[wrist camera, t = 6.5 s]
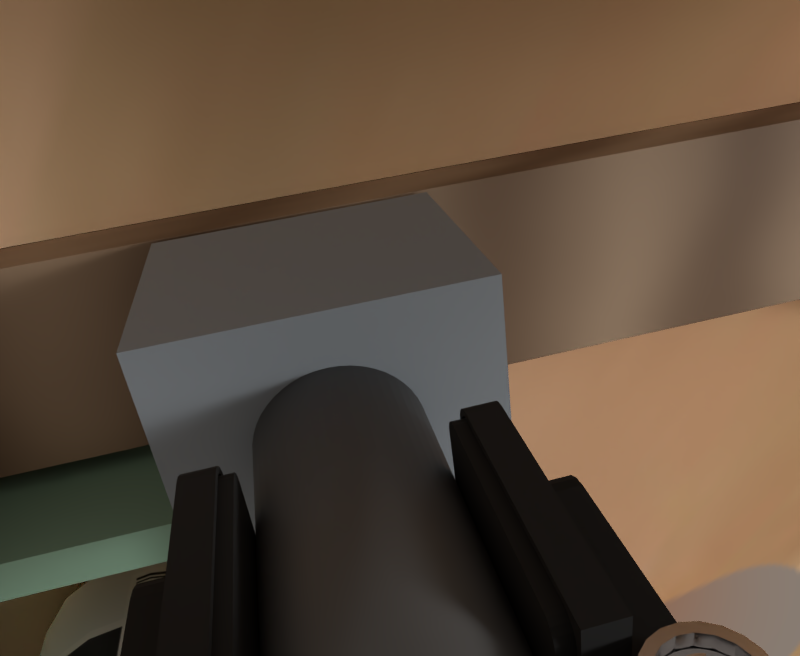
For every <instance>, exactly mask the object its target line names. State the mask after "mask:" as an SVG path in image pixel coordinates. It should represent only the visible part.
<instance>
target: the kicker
mask: <svg viewBox="0 0 800 656" xmlns="http://www.w3.org/2000/svg"><path fill="white" fill-rule="evenodd" d="M116 354H117V357H118V360H119V363H120V365H121V368H122V371H123V374H124V376H125V379H126V382H127V385H128V388H129V390H130V393H131V396H132V399H133V401H134V404H135V407H136V410H137V412H138V415H139V418H140V421H141V423H142V426H143V429H144V432H145V434H146V437H147V440H148V443H149V446H150V448H151V451H152V454H153V457H154V459H155V462H156V465H157V468H158V470H159V473H160V476H161V479H162V481H163V484H164V487H165V490H166V492H167V495H168V498H169V501H170V503H171V506H172V509H173V507H174V499H175V491H176V482H177V478H178V476H179V475H180V474H184V473H188V472H193V471H197V470H201V469H206V468H210V467H214V466H219V467H220V469H221V470H222V473H223V475H225V474H229V473H234V472H235V473H236V474H237V476H238V479H239V482H240V485H241V488H242V492H243V495H244V498H245V501H246V505H247V508H248V511H249V515H250V518H251V521H252V524H253V528H254V531H255V534H256V559H257V586H258V613H259V639H260V656H533V654H532V652H531V649H530V647H529V645H528V643H527V640H526V638H525V636H524V634H523V631H522V629H521V627H520V625H519V622H518V620H517V618H516V616H515V613H514V611H513V609H512V607H511V604H510V602H509V600H508V598H507V595H506V593H505V591H504V589H503V586H502V584H501V582H500V580H499V577H498V575H497V573H496V571H495V568H494V566H493V564H492V561H491V559H490V557H489V555H488V552H487V550H486V548H485V546H484V543H483V541H482V539H481V537H480V534H479V532H478V530H477V528H476V525H475V523H474V521H473V519H472V516H471V514H470V512H469V510H468V507H467V505H466V503H465V501H464V498H463V496H462V494H461V492H460V489H459V487H458V485H457V483H456V480H455V473H454V465H453V457H452V449H451V440H450V432H449V422H450V421H455V420H459V419H460V410H461V409H462V408H467V407H471V406H475V405H480V404H484V403H488V402H492V401H498V402H499V403H500V404H501V405H502V407H503V409H504V410H505V412H506V413H507V415H508V417H509V418H510V420H511V410H510V394H509V379H508V364H507V348H506V333H505V317H504V302H503V286H502V274H501V273H500V272H499V271H498V269H497V268H496V267H495V266H494V265H493V264H492V263H491V262H490V261H489V260H488V259H487V257H486V256H485V255H484V254H483V253H482V252H481V251H480V250H479V249H478V248H477V247H476V246H475V244H474V243H473V242H472V241H471V240H470V239H469V238H468V237H467V236H466V235H465V234H464V232H463V231H462V230H461V229H460V228H459V227H458V226H457V225H456V224H455V223H454V222H453V220H452V219H451V218H450V217H449V216H448V215H447V214H446V213H445V212H444V211H443V210H442V209H441V207H440V206H439V205H438V204H437V203H436V202H435V201H434V200H433V199H432V198H431V197H430V195H429V194H428V193H427V192H424V193H419V194H413V195H408V196H403V197H397V198H392V199H387V200H381V201H376V202H371V203H365V204H360V205H355V206H349V207H344V208H339V209H333V210H328V211H323V212H317V213H312V214H307V215H301V216H296V217H291V218H285V219H280V220H275V221H269V222H264V223H259V224H253V225H248V226H243V227H237V228H232V229H227V230H221V231H216V232H211V233H205V234H200V235H195V236H189V237H184V238H179V239H173V240H168V241H163V242H157V243H152V244H151V247H150V250H149V253H148V256H147V259H146V262H145V265H144V268H143V272H142V275H141V278H140V281H139V284H138V287H137V290H136V293H135V296H134V299H133V303H132V306H131V309H130V312H129V315H128V318H127V321H126V324H125V327H124V331H123V334H122V337H121V340H120V343H119V346H118V349H117V352H116Z"/></svg>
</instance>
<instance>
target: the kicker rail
mask: <svg viewBox="0 0 800 656" xmlns="http://www.w3.org/2000/svg"><path fill="white" fill-rule="evenodd" d="M424 192H427V193H428V194H429V195H430V197H431V198H432V199H433V200H434V201H435V202H436V203H437V204H438V205H439V206H440V207H441V209H442V210H443V211H444V212H445V213H446V214H447V215H448V216H449V217H450V218H451V219H452V220H453V222H454V223H455V224H456V225H457V226H458V227H459V228H460V229H461V230H462V231H463V232H464V234H465V235H466V236H467V237H468V238H469V239H470V240H471V241H472V242H473V243H474V244H475V246H476V247H477V248H478V249H479V250H480V251H481V252H482V253H483V254H484V255H485V256H486V257H487V259H488V260H489V261H490V262H491V263H492V264H493V265H494V266H495V267H496V268H497V269H498V271H499V272H500V273H501V274H502V286H503V302H504V317H505V333H506V348H507V364H512V363H517V362H521V361H526V360H530V359H535V358H539V357H544V356H548V355H553V354H557V353H562V352H566V351H571V350H575V349H580V348H584V347H589V346H593V345H598V344H602V343H606V342H611V341H615V340H620V339H624V338H629V337H633V336H638V335H642V334H647V333H651V332H656V331H660V330H665V329H669V328H674V327H678V326H683V325H687V324H692V323H696V322H701V321H705V320H709V319H714V318H718V317H723V316H727V315H732V314H736V313H741V312H745V311H750V310H754V309H759V308H763V307H768V306H772V305H777V304H781V303H786V302H790V301H795V300H799V299H800V102H798V103H793V104H787V105H782V106H777V107H771V108H766V109H760V110H755V111H749V112H744V113H738V114H733V115H727V116H722V117H717V118H711V119H706V120H700V121H695V122H689V123H684V124H678V125H673V126H668V127H662V128H657V129H651V130H646V131H640V132H635V133H629V134H624V135H618V136H613V137H608V138H602V139H597V140H591V141H586V142H580V143H575V144H569V145H564V146H559V147H553V148H548V149H542V150H537V151H531V152H526V153H520V154H515V155H510V156H504V157H499V158H493V159H488V160H482V161H477V162H471V163H466V164H460V165H455V166H450V167H444V168H439V169H433V170H428V171H422V172H417V173H411V174H406V175H401V176H395V177H390V178H384V179H379V180H373V181H368V182H362V183H357V184H351V185H346V186H341V187H335V188H330V189H324V190H319V191H313V192H308V193H302V194H297V195H292V196H286V197H281V198H275V199H270V200H264V201H259V202H253V203H248V204H243V205H237V206H232V207H226V208H221V209H215V210H210V211H204V212H199V213H193V214H188V215H183V216H177V217H172V218H166V219H161V220H155V221H150V222H144V223H139V224H134V225H128V226H123V227H117V228H112V229H106V230H101V231H95V232H90V233H84V234H79V235H74V236H68V237H63V238H57V239H52V240H46V241H41V242H35V243H30V244H25V245H19V246H14V247H8V248H3V249H0V478H2V477H6V476H11V475H15V474H20V473H24V472H29V471H33V470H38V469H42V468H47V467H51V466H56V465H60V464H65V463H69V462H74V461H78V460H83V459H87V458H91V457H96V456H100V455H105V454H109V453H114V452H118V451H123V450H127V449H132V448H136V447H141V446H145V445H149V443H148V440H147V437H146V434H145V432H144V429H143V426H142V423H141V421H140V418H139V415H138V412H137V410H136V407H135V404H134V401H133V399H132V396H131V393H130V390H129V388H128V385H127V382H126V379H125V376H124V374H123V371H122V368H121V365H120V363H119V360H118V357H117V354H116V352H117V349H118V346H119V343H120V340H121V337H122V334H123V331H124V327H125V324H126V321H127V318H128V315H129V312H130V309H131V306H132V303H133V299H134V296H135V293H136V290H137V287H138V284H139V281H140V278H141V275H142V272H143V268H144V265H145V262H146V259H147V256H148V253H149V250H150V247H151V244H152V243H157V242H163V241H168V240H173V239H179V238H184V237H189V236H195V235H200V234H205V233H211V232H216V231H221V230H227V229H232V228H237V227H243V226H248V225H253V224H259V223H264V222H269V221H275V220H280V219H285V218H291V217H296V216H301V215H307V214H312V213H317V212H323V211H328V210H333V209H339V208H344V207H349V206H355V205H360V204H365V203H371V202H376V201H381V200H387V199H392V198H397V197H403V196H408V195H413V194H419V193H424Z"/></svg>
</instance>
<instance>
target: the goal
mask: <svg viewBox="0 0 800 656" xmlns="http://www.w3.org/2000/svg"><path fill="white" fill-rule="evenodd" d="M172 516H173V509H172V506H171V503H170V501H169V498H168V495H167V492H166V490H165V487H164V484H163V481H162V479H161V476H160V473H159V470H158V468H157V465H156V462H155V459H154V457H153V454H152V451H151V448H150V446H149V445H145V446H141V447H136V448H132V449H127V450H123V451H118V452H114V453H109V454H105V455H100V456H96V457H91V458H87V459H83V460H78V461H74V462H69V463H65V464H60V465H56V466H51V467H47V468H42V469H38V470H33V471H29V472H24V473H20V474H15V475H11V476H6V477H2V478H0V602H3V601H7V600H11V599H15V598H19V597H23V596H27V595H32V594H36V593H40V592H44V591H48V590H52V589H56V588H60V587H64V586H68V585H72V584H76V583H81V582H85V581H89V580H93V579H97V578H101V577H105V576H109V575H113V574H117V573H121V572H125V571H130V570H134V569H138V568H142V567H146V566H150V565H154V564H158V563H162V562H166V561H167V558H168V549H169V541H170V532H171V524H172Z"/></svg>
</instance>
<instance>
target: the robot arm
mask: <svg viewBox="0 0 800 656" xmlns="http://www.w3.org/2000/svg"><path fill="white" fill-rule="evenodd" d="M449 432H450V440H451V449H452V457H453V465H454V473H455V480H456V483H457V485H458V487H459V489H460V492H461V494H462V496H463V498H464V501H465V503H466V505H467V507H468V510H469V512H470V514H471V516H472V519H473V521H474V523H475V525H476V528H477V530H478V532H479V534H480V537H481V539H482V541H483V543H484V546H485V548H486V550H487V552H488V555H489V557H490V559H491V561H492V564H493V566H494V568H495V571H496V573H497V575H498V577H499V580H500V582H501V584H502V586H503V589H504V591H505V593H506V595H507V598H508V600H509V602H510V604H511V607H512V609H513V611H514V613H515V616H516V618H517V620H518V622H519V625H520V627H521V629H522V631H523V634H524V636H525V638H526V640H527V643H528V645H529V647H530V649H531V652H532V654H533V656H768V654H767V653H766V652H765V651H764V650H763V649H762V648H761V647H759V646H758V645H756V644H755V643H754V642H752V641H751V640H749V639H748V638H747V637H745V636H744V635H742V634H739V633H737V632H735V631H733V630H730V629H728V628H726V627H724V626H721V625H716V624H711V623H706V622H701V621H692V622H678V623H677V622H676V621H675V619H674V618H673V616H672V615H671V613H670V612H669V611H668V609H667V608H666V606H665V605H664V603H663V602H662V600H661V599H660V597H659V596H658V594H657V593H656V592H655V590H654V589H653V587H652V586H651V584H650V583H649V581H648V580H647V578H646V577H645V576H644V574H643V573H642V571H641V570H640V568H639V567H638V565H637V564H636V562H635V561H634V559H633V558H632V557H631V555H630V554H629V552H628V551H627V549H626V548H625V546H624V545H623V543H622V542H621V541H620V539H619V538H618V536H617V535H616V533H615V532H614V530H613V529H612V527H611V526H610V524H609V523H608V522H607V520H606V519H605V517H604V516H603V514H602V513H601V511H600V510H599V508H598V507H597V506H596V504H595V503H594V501H593V500H592V498H591V497H590V495H589V494H588V492H587V491H586V490H585V488H584V487H583V485H582V484H581V483H580V482H579V480H578V479H577V478H576V477H574V476H572V475H570V476H566V477H562V478H558V479H554V480H550V481H548V479H547V477H546V476H545V474H544V473H543V471H542V469H541V468H540V466H539V465H538V463H537V461H536V460H535V458H534V457H533V455H532V453H531V452H530V450H529V449H528V447H527V445H526V444H525V442H524V441H523V439H522V437H521V436H520V434H519V433H518V431H517V429H516V428H515V426H514V425H513V423H512V421H511V420H510V418H509V417H508V415H507V413H506V412H505V410H504V409H503V407H502V405H501V404H500V403H499V402H498V401H492V402H488V403H484V404H480V405H475V406H471V407H467V408H462V409H461V410H460V419H459V420H455V421H450V422H449ZM120 656H260V639H259V613H258V586H257V559H256V534H255V531H254V528H253V524H252V521H251V518H250V515H249V511H248V508H247V505H246V501H245V498H244V495H243V492H242V488H241V485H240V482H239V479H238V476H237V474H236V473H235V472H234V473H229V474H225V475H223V473H222V470H221V469H220V467H219V466H214V467H210V468H206V469H201V470H197V471H193V472H188V473H184V474H180V475H179V476H178V478H177V482H176V491H175V499H174V507H173V516H172V524H171V532H170V541H169V549H168V558H167V566H166V574H165V577H162V578H158V579H154V580H150V581H146V582H142V583H139V584H136V585H135V587H134V588H133V590H132V594H131V597H130V602H129V608H128V613H127V619H126V625H125V631H124V636H123V642H122V648H121V654H120Z"/></svg>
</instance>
